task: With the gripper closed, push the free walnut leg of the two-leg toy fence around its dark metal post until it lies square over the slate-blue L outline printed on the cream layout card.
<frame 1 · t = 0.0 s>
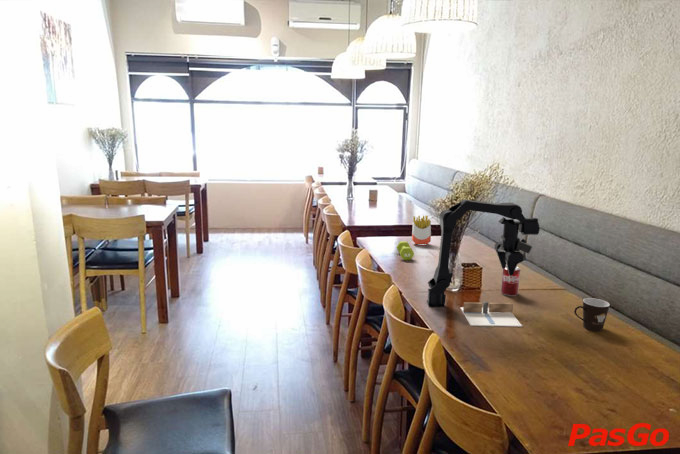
hand: (507, 271, 189), 15 cm above the table, fingers open, 9 cm apart
dumbbell: (404, 257, 262), on the table
soda can: (509, 294, 206), on the table
fixed panel: (485, 313, 184), resting on layout card
layout card: (489, 316, 181), on the table
fold panel: (500, 307, 183), point 3 cm above the table, hinge at 0.0°
coffee mug: (588, 327, 172), on the table
french fries container: (421, 244, 288), on the table
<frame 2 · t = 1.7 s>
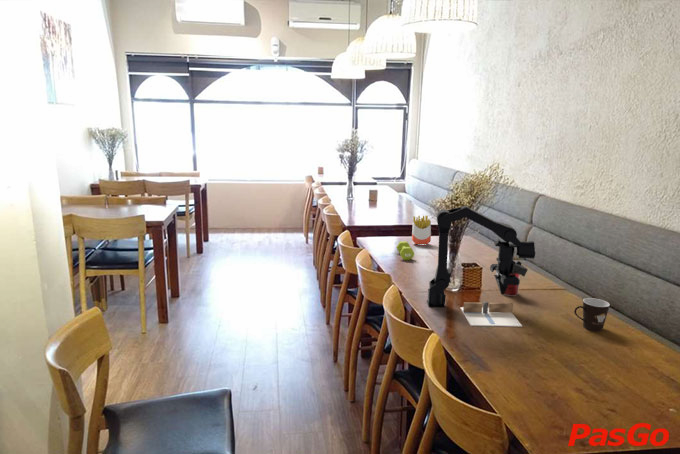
hand: (502, 294, 187), 6 cm above the table, fingers closed
nothing on the table moved.
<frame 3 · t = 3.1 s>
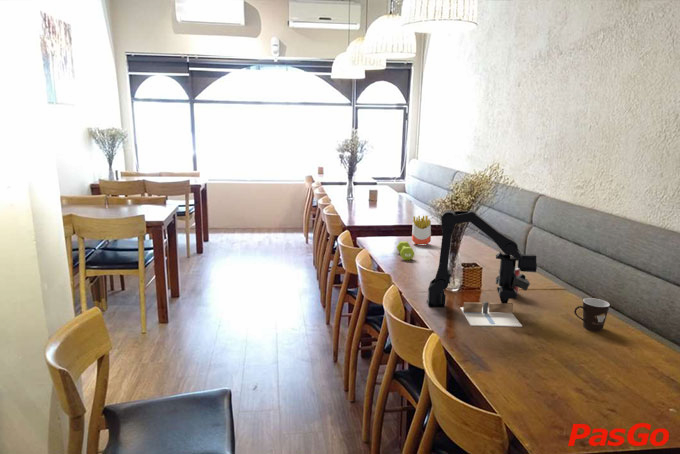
hand: (504, 307, 185), 2 cm above the table, fingers closed
fold panel: (500, 307, 183), point 3 cm above the table, hinge at -0.6°, touching gripper
everything else where it was.
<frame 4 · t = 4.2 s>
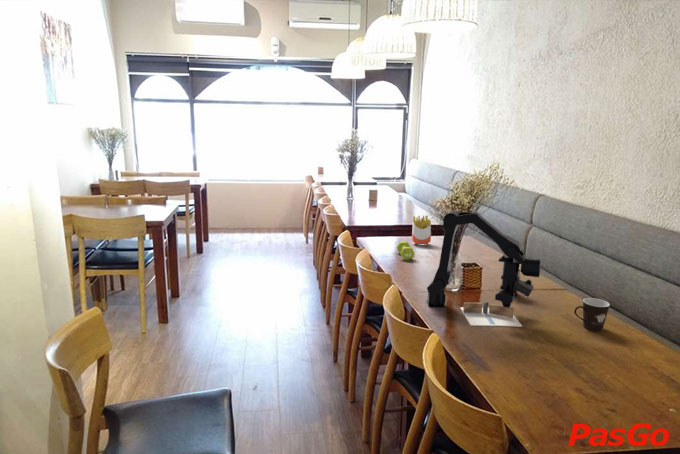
hand: (506, 311, 181), 2 cm above the table, fingers closed
fold panel: (501, 310, 180), point 3 cm above the table, hinge at -30.5°, touching gripper
everything else where it was.
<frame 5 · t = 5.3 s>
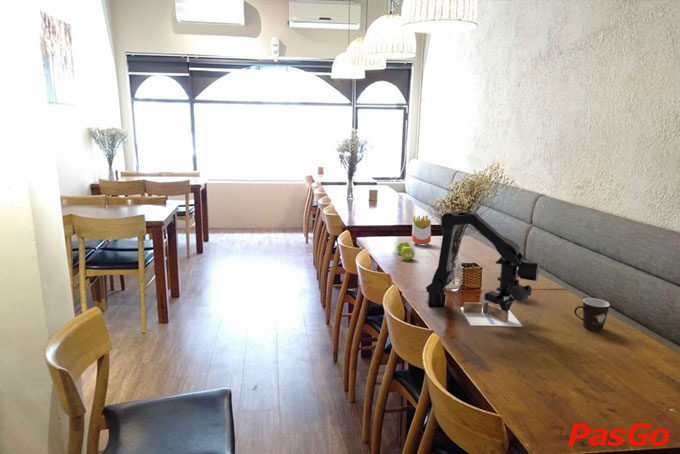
hand: (505, 314, 178), 2 cm above the table, fingers closed
fold panel: (497, 312, 178), point 3 cm above the table, hinge at -57.2°, touching gripper
everything else where it was.
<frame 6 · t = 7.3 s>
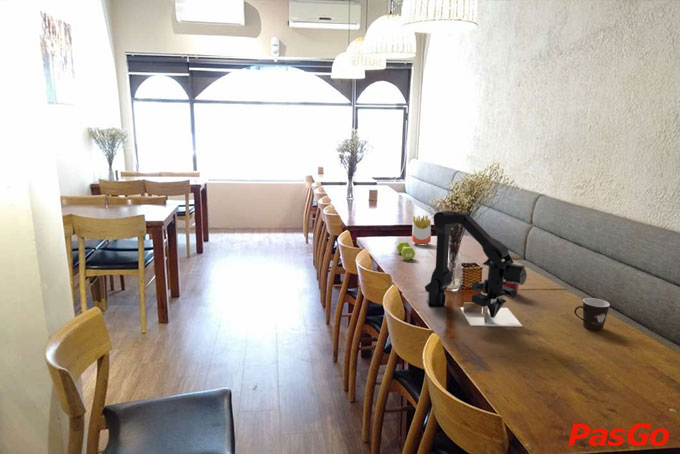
hand: (492, 317, 175), 2 cm above the table, fingers closed
fold panel: (485, 313, 178), point 3 cm above the table, hinge at -104.4°, touching gripper
everything else where it was.
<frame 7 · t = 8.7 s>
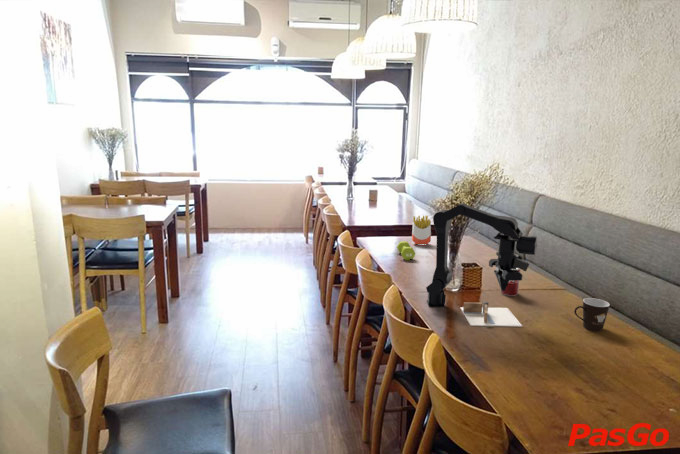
hand: (503, 290, 177), 11 cm above the table, fingers closed
fold panel: (485, 313, 178), point 3 cm above the table, hinge at -105.0°
everything else where it was.
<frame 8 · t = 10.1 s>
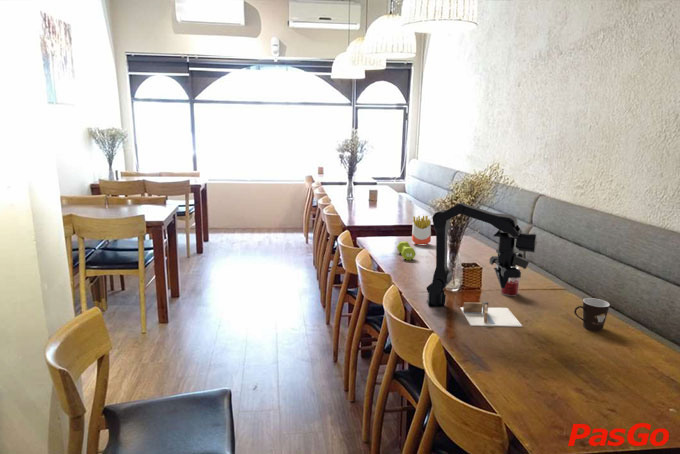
hand: (502, 288, 178), 12 cm above the table, fingers closed
nothing on the table moved.
at the end: fold panel at -105° (first picture: +0°) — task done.
